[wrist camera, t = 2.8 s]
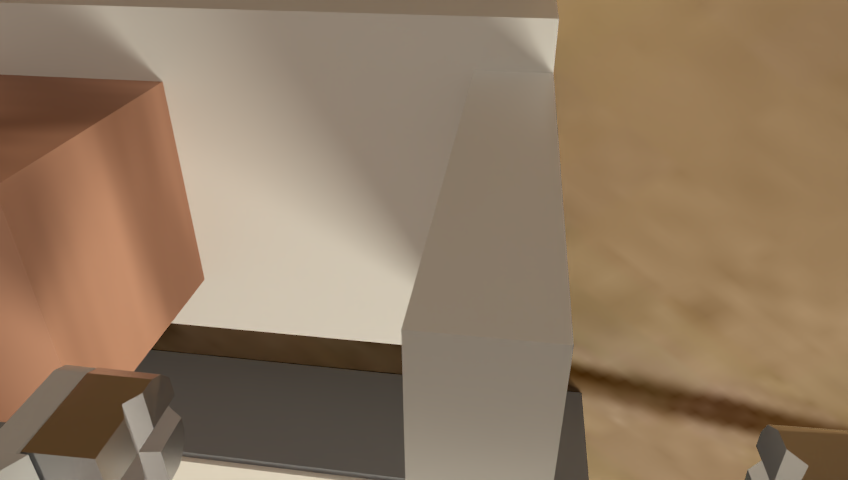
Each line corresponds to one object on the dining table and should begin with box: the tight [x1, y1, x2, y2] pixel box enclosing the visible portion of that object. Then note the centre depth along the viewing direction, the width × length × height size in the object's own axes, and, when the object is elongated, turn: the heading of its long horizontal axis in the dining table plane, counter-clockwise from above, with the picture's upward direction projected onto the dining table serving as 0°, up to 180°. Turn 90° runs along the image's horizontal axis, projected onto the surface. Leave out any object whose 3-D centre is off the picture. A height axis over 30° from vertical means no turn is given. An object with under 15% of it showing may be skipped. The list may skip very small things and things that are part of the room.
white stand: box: [0, 0, 574, 480], centre depth 13 cm, size 16×8×11 cm, turn 91°
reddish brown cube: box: [0, 75, 205, 422], centre depth 13 cm, size 5×5×5 cm
